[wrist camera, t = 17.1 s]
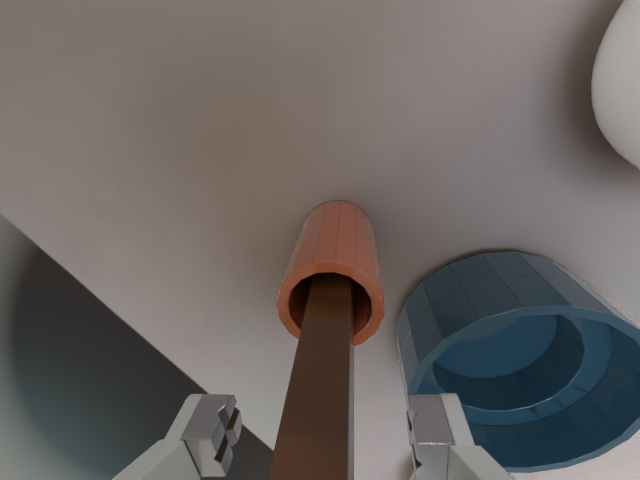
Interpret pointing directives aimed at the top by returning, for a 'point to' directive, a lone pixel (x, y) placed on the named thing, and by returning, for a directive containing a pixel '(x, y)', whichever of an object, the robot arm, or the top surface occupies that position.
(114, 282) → the top surface
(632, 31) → the lidded bowl
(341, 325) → the stirring stick
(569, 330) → the mixing bowl
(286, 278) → the pot
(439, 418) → the robot arm
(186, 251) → the top surface
